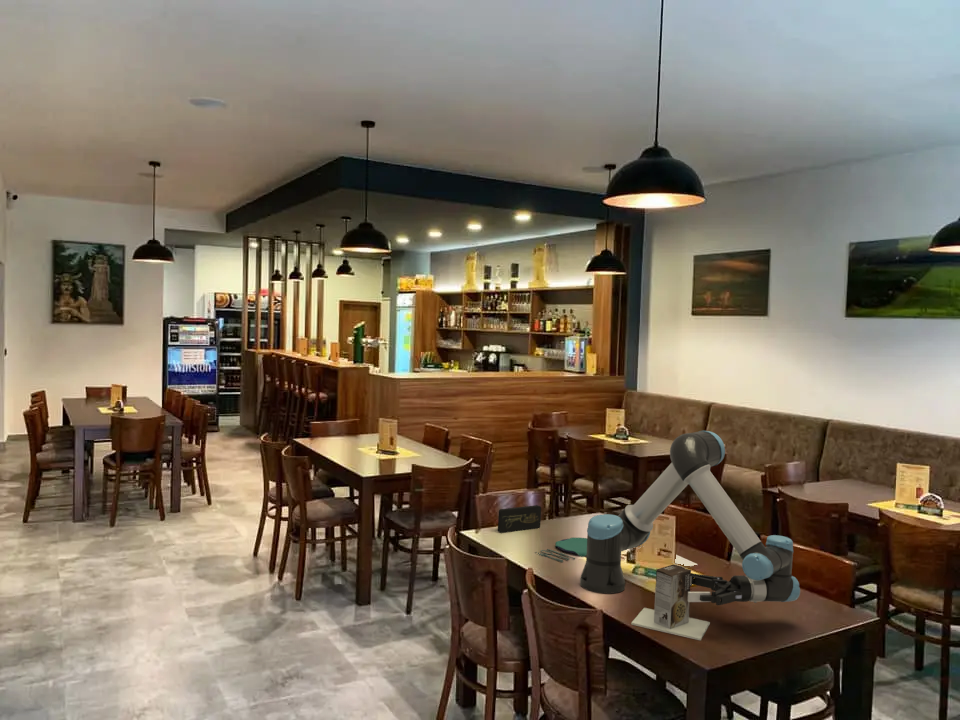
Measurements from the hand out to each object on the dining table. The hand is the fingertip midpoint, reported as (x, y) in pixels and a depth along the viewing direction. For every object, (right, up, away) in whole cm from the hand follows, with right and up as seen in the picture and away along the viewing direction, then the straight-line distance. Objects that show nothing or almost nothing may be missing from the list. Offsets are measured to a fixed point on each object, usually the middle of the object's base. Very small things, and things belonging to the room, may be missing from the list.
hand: (678, 588), depth 215 cm
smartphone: (+17, -10, +64) cm, 67 cm away
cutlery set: (-23, -8, +70) cm, 74 cm away
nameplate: (-42, -6, +97) cm, 106 cm away
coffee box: (-2, -11, +1) cm, 11 cm away
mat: (-2, -11, +1) cm, 11 cm away
